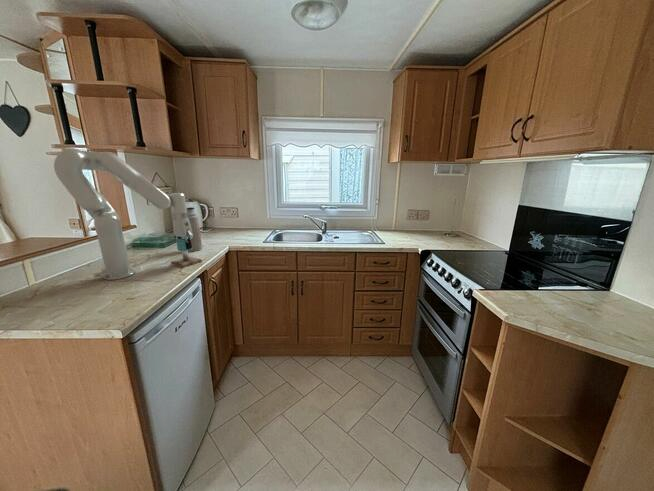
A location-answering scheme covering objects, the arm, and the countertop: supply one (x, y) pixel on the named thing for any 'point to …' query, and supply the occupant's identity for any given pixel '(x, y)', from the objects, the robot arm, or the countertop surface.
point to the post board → (186, 262)
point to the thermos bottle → (194, 230)
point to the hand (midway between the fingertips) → (184, 247)
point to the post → (185, 255)
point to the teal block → (182, 244)
